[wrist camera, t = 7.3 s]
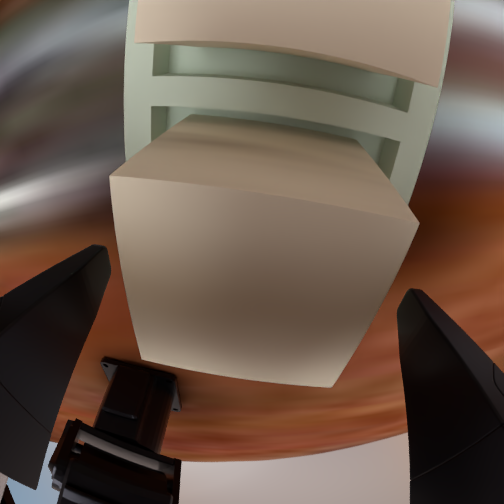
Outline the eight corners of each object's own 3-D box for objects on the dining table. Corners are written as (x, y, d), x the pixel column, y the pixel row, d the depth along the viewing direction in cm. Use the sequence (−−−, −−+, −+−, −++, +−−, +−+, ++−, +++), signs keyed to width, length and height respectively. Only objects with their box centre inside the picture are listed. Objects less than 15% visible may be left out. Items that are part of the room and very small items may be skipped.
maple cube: (319, 269, 14) (331, 387, 9) (186, 249, 14) (141, 359, 9) (356, 139, 10) (419, 223, 5) (191, 114, 10) (109, 175, 5)
